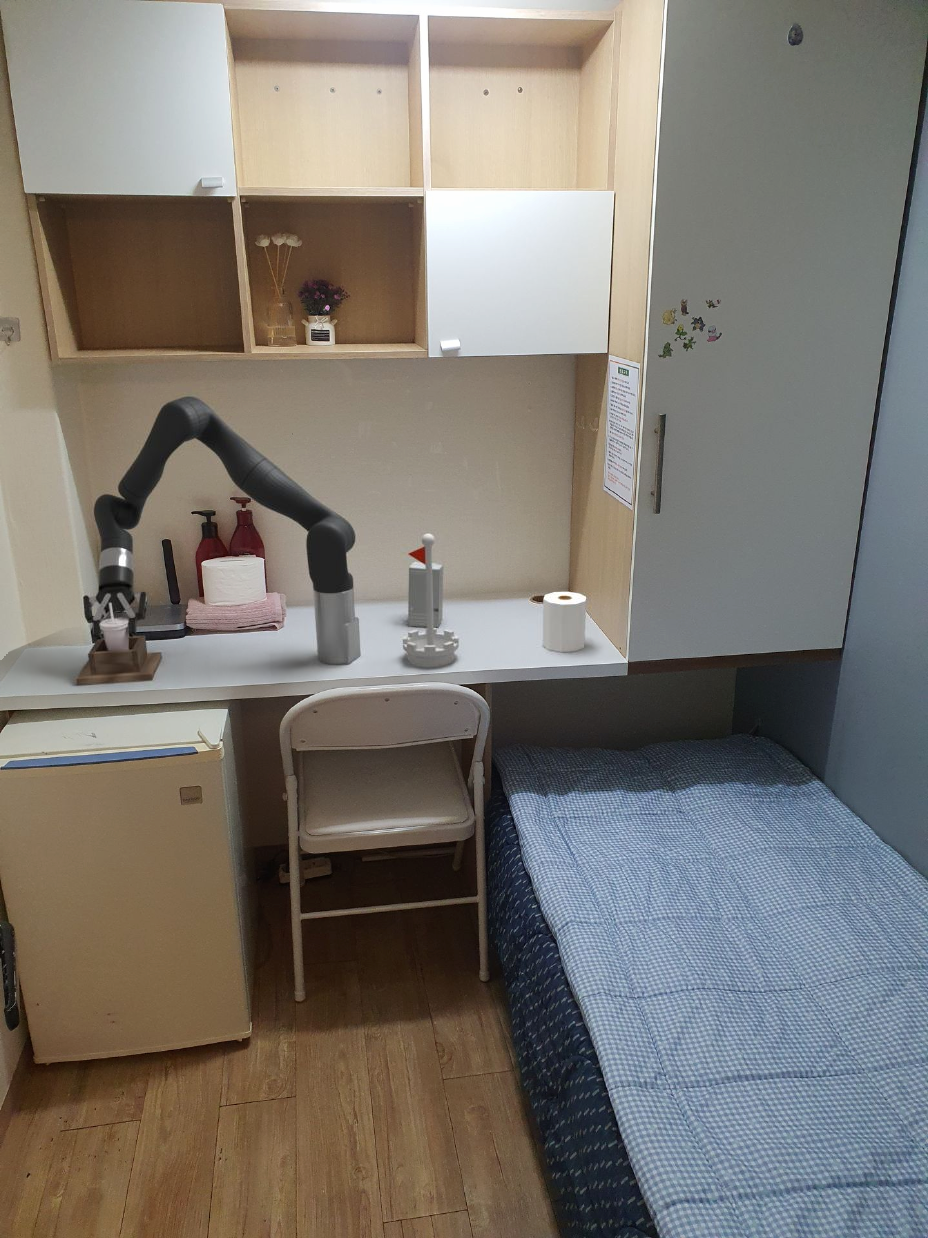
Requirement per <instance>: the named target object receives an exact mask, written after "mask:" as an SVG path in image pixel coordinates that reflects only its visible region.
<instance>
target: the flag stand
mask: <svg viewBox="0 0 928 1238" xmlns="http://www.w3.org/2000/svg"><path fill="white" fill-rule="evenodd" d="M435 539H436V538H435V537H434V535H433V534H431V533H424V535H422V537H421V543H422V545H423V546H421V547H420V548H418V549H415V550H413V551H411V552H409V553H407V554H408V555H409V556H410V557H412V558H414V560H416V561H417V562H421V563H423V564H425V567H426V606H427V627H426V628H425V632H419V630H418V629H413V630H410V631H408V632H407V633H408V634H407V635H403V636H402V649H403V651H405V652H406V653H407V661H408V663H410V664H411V665H414V666H417V667H420V668H421V667H422V668H423V667H424V668H437V667H442V666H446V665H449V664H451V663H452V662H454V660H455V652H456V651H457V650H458V649H459V645H460V643H459V642H460V640H459V639H460V638H459V637H460V636H459V634H455V631H454V630H451V629H445V630H444V629H443V632H437V630H438V629H437V628H438V627H434V625H433V582H432V563H433V550H432V547H433V546H434V544H435Z"/></svg>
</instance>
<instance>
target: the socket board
mask: <svg viewBox="0 0 928 1238" xmlns="http://www.w3.org/2000/svg"><path fill="white" fill-rule="evenodd" d="M128 636H129V635H128ZM162 655H163V654H162V651H157V652H155V651H154V652H148V646H147V639H146V635H134V637H130V636H129V650H117V651H108V649H107V646H106V642H105V639H104V637H101V639H96V641H95V643H94V645H92V647H91V648H90V650H89V652H88V654H87V657H88V660H87V661H86V663H85V665H84V666H83V667H82V669H81V670H80V672H79V674H78V675H77V677H76V678H75V680H76V686H87V685H89V686H90V685H102V684H116V683H118V684H119V683H130V682H132V683H133V682H142V681H143V682H145V681H146V682H147V681H153V679H154V677H155V674H156V673H157V670H158V668H159V666H160V663H161V662H162V659H163V656H162Z"/></svg>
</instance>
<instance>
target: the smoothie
mask: <svg viewBox="0 0 928 1238" xmlns="http://www.w3.org/2000/svg"><path fill="white" fill-rule="evenodd" d="M109 608H110V613H109V614H110V618H107V619H106V618H105V619H103V621H102V622H100V624H99V625H100V629H101V630H102V635H103V638H104V639H105V642H106V646H107V649H108V651H117V650H129V632H128V631H129V618H127V617H114V613H113V610H112V604H111V603H109Z"/></svg>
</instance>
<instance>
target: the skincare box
mask: <svg viewBox="0 0 928 1238" xmlns="http://www.w3.org/2000/svg"><path fill="white" fill-rule="evenodd" d="M432 582H433V625H434V628H439V627H440V625H441V623H442V622H443V603H444V602H443V601H444V600H443V599H444V598H443V597H444V596H443V595H444V563H434V562H432ZM407 601H408V603H407V604H408V605H407V606H408V609H407V610H408V611H407V612H408V615H407V616H408V617H407V619H408V621H407V625H408V627H418V628H419V627H421V628H422V627H423V628H425V627H426V628H427V606H426V567H425V564H423V563H421V562H420V561H414V562H412V563H411V564H410V565H409V567H408V600H407ZM441 621H442V622H441Z"/></svg>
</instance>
